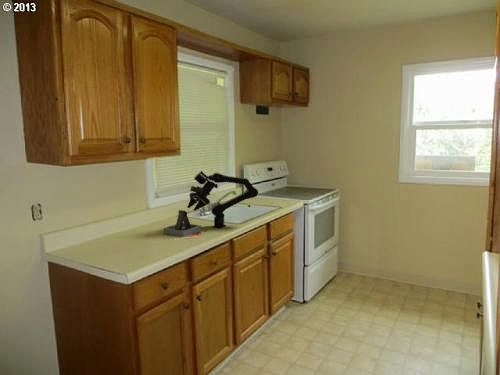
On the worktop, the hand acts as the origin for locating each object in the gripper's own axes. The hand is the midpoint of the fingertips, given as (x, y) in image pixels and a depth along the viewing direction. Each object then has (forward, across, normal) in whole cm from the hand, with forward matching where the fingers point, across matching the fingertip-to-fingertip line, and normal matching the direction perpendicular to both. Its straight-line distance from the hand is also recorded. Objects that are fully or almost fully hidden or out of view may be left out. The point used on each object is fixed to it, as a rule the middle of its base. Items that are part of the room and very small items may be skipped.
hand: (190, 209), depth 224 cm
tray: (+14, 0, +5) cm, 15 cm away
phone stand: (+13, 0, +5) cm, 14 cm away
